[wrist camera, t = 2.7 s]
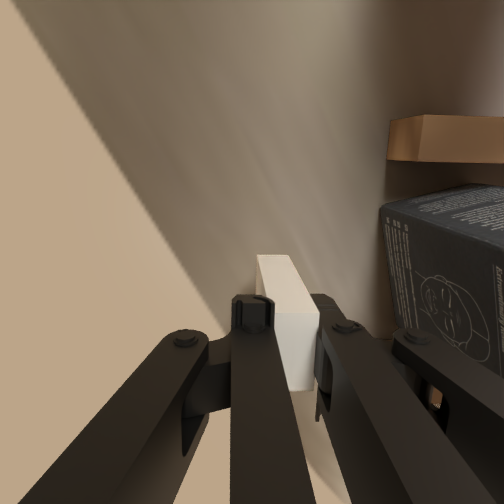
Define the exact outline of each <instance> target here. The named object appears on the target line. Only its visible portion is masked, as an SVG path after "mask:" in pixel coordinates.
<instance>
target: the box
mask: <svg viewBox="0 0 504 504" xmlns="http://www.w3.org/2000/svg"><path fill="white" fill-rule="evenodd" d="M380 211H381V220H382V227H383V234H384V242H385V249H386V256H387V263H388V270H389V277H390V284H391V291H392V298H393V305H394V313H395V319H396V325H397V326H398V327H399V328H400V329H401V328H414V329H415V328H418V329H421V330H422V331H426V332H428V333H430V334H433V335H435V336H436V337H438V338H439V339H441V340H443V341H444V342H446V343H447V344H449V345H451V346H452V347H454V348H455V349H457V350H459V351H460V352H462V353H463V354H465V355H467V356H468V357H470V358H471V359H473V360H475V361H476V362H478V363H479V364H481V365H483V366H484V367H486V368H487V369H489V370H491V371H492V372H494V373H495V374H497V375H499V376H500V377H502V378H503V379H504V187H501V186H493V185H485V184H477V183H472V184H468V185H464V186H460V187H455V188H451V189H447V190H443V191H438V192H434V193H430V194H426V195H421V196H417V197H413V198H408V199H404V200H400V201H396V202H391V203H387V204H384V205H382V206H381V208H380Z"/></svg>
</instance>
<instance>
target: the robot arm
mask: <svg viewBox="0 0 504 504" xmlns="http://www.w3.org/2000/svg"><path fill="white" fill-rule="evenodd" d="M315 377H316V380H317V383H318V391H317V403H316V415H315V420H316V422H319V417H320V415H321V414H322V416H323V419H324V422H325V425H326V428H327V431H328V434H329V437H330V440H331V443H332V446H333V449H334V452H335V455H336V458H337V461H338V464H339V467H340V470H341V473H342V476H343V479H344V482H345V485H346V488H347V491H348V494H349V497H350V500H351V503H352V504H504V379H503V378H502V377H500V376H499V375H497V374H495V373H494V372H492V371H491V370H489V369H487V368H486V367H484V366H483V365H481V364H479V363H478V362H476V361H475V360H473V359H471V358H470V357H468V356H467V355H465V354H463V353H462V352H460V351H459V350H457V349H455V348H454V347H452V346H451V345H449V344H447V343H446V342H444V341H443V340H441V339H439V338H438V337H436V336H435V335H433V334H430V333H428V332H426V331H422V330H421V329H418V328H415V329H414V328H401V329H398V330H396V331H395V332H394V333H393V338H392V341H387V340H381V339H375V338H372V336H371V335H370V334H369V333H368V331H367V330H366V329H365V327H363V326H362V325H361V324H359V323H358V322H355V321H352V320H348V319H346V317H345V316H344V314H343V313H342V312H341V310H340V309H339V307H338V306H337V304H336V303H335V301H334V300H333V299H332V298H330V297H329V296H327V295H325V294H309V292H308V290H307V289H306V287H305V285H304V283H303V281H302V279H301V278H300V276H299V274H298V272H297V270H296V268H295V267H294V265H293V263H292V261H291V259H290V257H289V255H257V269H256V295H236V296H235V297H234V298H233V299H232V318H231V332H230V333H229V334H228V335H227V336H225V337H223V338H221V339H218V340H214V341H209V339H208V337H207V335H206V334H204V333H203V332H200V331H196V330H188V329H183V330H178V331H175V332H172V333H170V334H168V335H167V336H165V337H164V338H163V339H162V340H161V342H160V343H159V344H158V345H157V346H156V347H155V348H154V349H153V351H152V352H151V353H150V354H149V355H148V356H147V358H146V359H145V360H144V361H143V362H142V363H141V364H140V365H139V367H138V368H137V369H136V370H135V371H134V372H133V373H132V375H131V376H130V377H129V378H128V379H127V380H126V381H125V382H124V384H123V385H122V386H121V387H120V388H119V389H118V390H117V391H116V393H115V394H114V395H113V396H112V397H111V398H110V400H109V401H108V402H107V403H106V404H105V405H104V406H103V407H102V409H101V410H100V411H99V412H98V413H97V414H96V415H95V417H94V418H93V419H92V420H91V421H90V422H89V423H88V424H87V426H86V427H85V428H84V429H83V430H82V431H81V432H80V434H79V435H78V436H77V437H76V438H75V439H74V440H73V442H72V443H71V444H70V445H69V446H68V447H67V448H66V450H65V451H64V452H63V453H62V454H61V455H60V456H59V457H58V459H57V460H56V461H55V462H54V463H53V464H52V465H51V466H50V468H49V469H48V470H47V471H46V472H45V473H44V474H43V476H42V477H41V478H40V479H39V480H38V481H37V482H36V484H35V485H34V486H33V487H32V488H31V489H30V490H29V492H28V493H27V494H26V495H25V496H24V497H23V499H21V501H20V502H19V503H18V504H173V502H174V500H175V497H176V495H177V493H178V490H179V488H180V485H181V483H182V481H183V479H184V476H185V474H186V472H187V470H188V467H189V465H190V462H191V460H192V458H193V456H194V453H195V451H196V449H197V447H198V444H199V442H200V439H201V437H202V435H203V433H204V430H205V428H206V426H207V423H208V420H209V413H210V412H214V411H218V410H222V409H226V408H230V407H231V424H230V427H231V428H230V432H231V433H230V504H316V501H315V496H314V492H313V488H312V484H311V480H310V475H309V472H308V467H307V463H306V459H305V455H304V450H303V446H302V442H301V438H300V434H299V430H298V425H297V421H296V417H295V413H294V409H293V405H292V400H291V396H290V392H289V391H314V379H315ZM434 387H435V388H436V389H437V390H439V391H440V392H441V393H442V394H443V395H442V400H441V406H440V408H437V407H435V406H434V405H433V404H432V403H431V401H432V395H433V390H434Z"/></svg>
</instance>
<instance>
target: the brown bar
mask: <svg viewBox="0 0 504 504" xmlns="http://www.w3.org/2000/svg"><path fill="white" fill-rule="evenodd" d="M386 159H388V160H404V161H423V162H464V163H504V117H487V116H456V115H419V116H413V117H408V118H403V119H397V120H392V121H391V125H390V133H389V141H388V149H387V158H386ZM387 341H392V340H387ZM442 395H443V394H442V393H441V392H440V391H439V390H437V389H436V388H435V387H434V390H433V395H432V401H431V403H432V404H437V403H441V400H442Z"/></svg>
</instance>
